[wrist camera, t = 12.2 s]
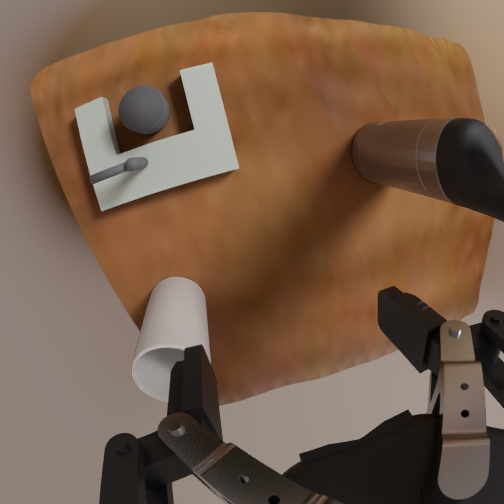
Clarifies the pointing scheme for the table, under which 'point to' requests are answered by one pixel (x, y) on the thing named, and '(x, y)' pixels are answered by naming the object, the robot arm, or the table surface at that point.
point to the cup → (169, 334)
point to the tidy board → (158, 146)
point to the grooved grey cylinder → (144, 110)
